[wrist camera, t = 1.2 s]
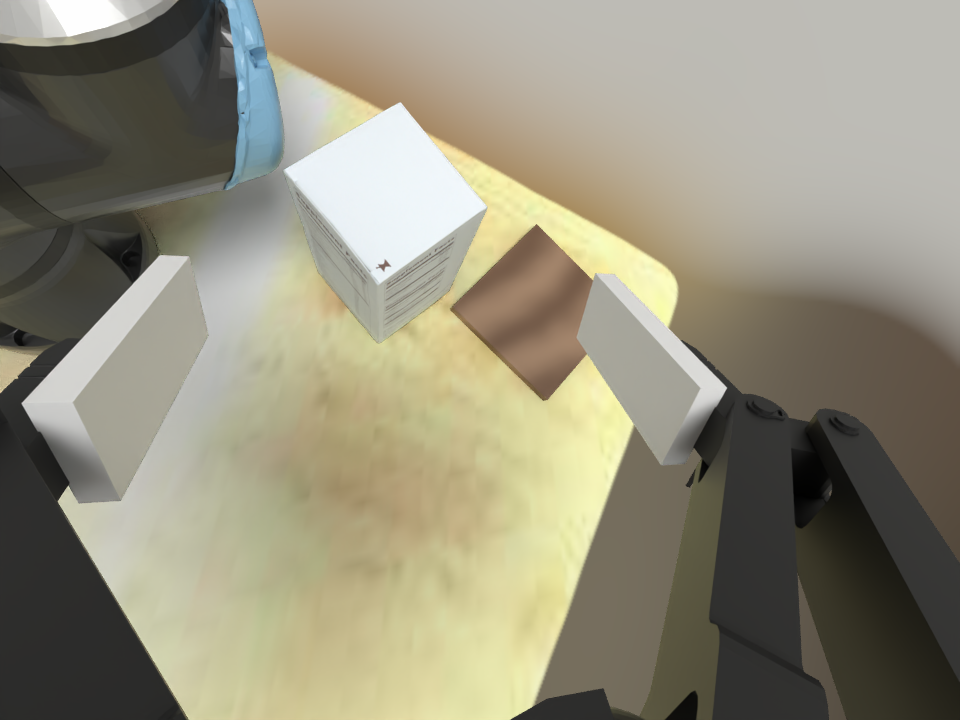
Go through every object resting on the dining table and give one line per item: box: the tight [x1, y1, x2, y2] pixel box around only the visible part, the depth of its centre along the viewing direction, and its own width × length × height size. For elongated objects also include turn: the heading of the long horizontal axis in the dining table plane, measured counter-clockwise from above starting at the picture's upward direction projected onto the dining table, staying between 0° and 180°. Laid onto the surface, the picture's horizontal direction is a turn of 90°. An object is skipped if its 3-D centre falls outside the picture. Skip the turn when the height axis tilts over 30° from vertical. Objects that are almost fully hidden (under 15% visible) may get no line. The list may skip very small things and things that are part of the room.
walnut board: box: [451, 224, 593, 401], centre depth 47 cm, size 13×13×1 cm
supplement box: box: [283, 103, 487, 343], centre depth 36 cm, size 10×9×17 cm
